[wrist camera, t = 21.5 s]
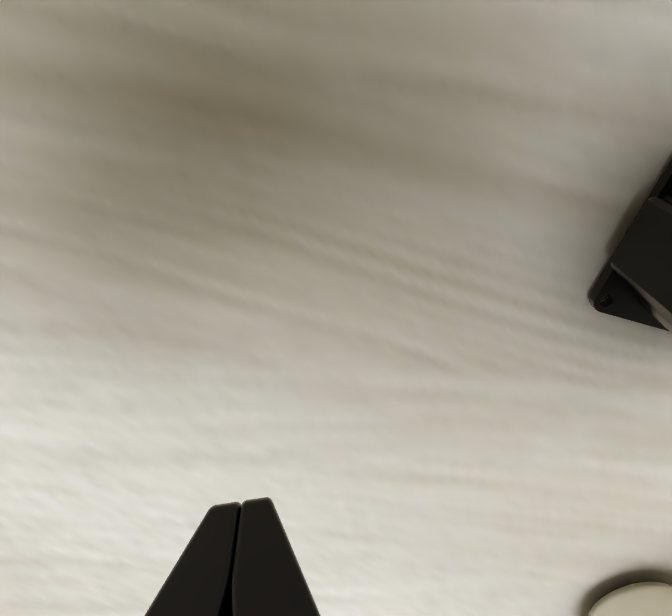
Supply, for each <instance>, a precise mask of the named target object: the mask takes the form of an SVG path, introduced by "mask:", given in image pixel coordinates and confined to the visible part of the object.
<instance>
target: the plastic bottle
mask: <svg viewBox="0 0 672 616" xmlns="http://www.w3.org/2000/svg"><path fill="white" fill-rule="evenodd" d="M588 616H672V586H671V585H668V584H666V583H661V582H640V583H634V584H630V585H627V586H624V587H621V588H619V589H616V590H614V591H612V592H610V593H608V594H607V595H605V596H604V597H602V598H601V599H600V600H598V601H597V602H596V603H595V604H594V605H593V607H592V608H591V610H590V611H589V614H588Z"/></svg>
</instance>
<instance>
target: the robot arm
mask: <svg viewBox="0 0 672 616" xmlns="http://www.w3.org/2000/svg"><path fill="white" fill-rule="evenodd" d="M606 295H608V297H607V298H606V299H605V300H604V301H601V299H602V298H603V297H604V296H606ZM600 301H601V302H600ZM589 302H590V304H591V305H592V306H593V307H594V308H595V309H596V310H597V311H599V312H602V313H606V314H609V315H613V316H617V317H620V318H624V319H628V320H631V321H635V322H638V323H642V324H646V325H649V326H653V327H657V328H660V329H664V330H667V331H670V332H671V333H672V159H671V161H670V162H669V164H668V166H667V167H666V169H665V171H664V172H663V174H662V176H661V177H660V179H659V181H658V182H657V184H656V186H655V187H654V189H653V191H652V192H651V194H650V195H649V197H648V199H647V200H646V202H645V203H644V205H643V207H642V208H641V210H640V212H639V213H638V215H637V216H636V218H635V220H634V221H633V223H632V225H631V226H630V228H629V230H628V231H627V233H626V235H625V236H624V238H623V240H622V241H621V243H620V245H619V246H618V248H617V250H616V251H615V253H614V255H613V256H612V258H611V260H610V262H609V263H608V265H607V267H606V268H605V270H604V271H603V273H602V275H601V276H600V278H599V280H598V281H597V283H596V285H595V286H594V288H593V290H592V291H591V293H590V296H589ZM145 616H320V614H319V611H318V609H317V607H316V604H315V602H314V599H313V597H312V595H311V592H310V590H309V588H308V585H307V583H306V580H305V578H304V576H303V573H302V571H301V568H300V566H299V564H298V561H297V559H296V557H295V554H294V552H293V549H292V547H291V545H290V542H289V540H288V537H287V535H286V533H285V530H284V528H283V525H282V523H281V521H280V518H279V516H278V514H277V511H276V509H275V506H274V504H273V502H272V500H271V499H270V498H268V497H265V498H258V499H252V500H246V501H244V502H243V503H242V505H241V504H240V503H239V502H232V503H226V504H219V505H215V506H213V507H211V508H210V509H209V510H208V512H207V514H206V515H205V517H204V519H203V520H202V522H201V524H200V525H199V527H198V528H197V530H196V532H195V533H194V535H193V537H192V538H191V540H190V542H189V543H188V545H187V547H186V548H185V550H184V552H183V553H182V555H181V556H180V558H179V560H178V561H177V563H176V565H175V566H174V568H173V570H172V571H171V573H170V575H169V576H168V578H167V580H166V581H165V583H164V584H163V586H162V588H161V589H160V591H159V593H158V594H157V596H156V598H155V599H154V601H153V603H152V604H151V606H150V608H149V609H148V611H147V613H146V614H145Z"/></svg>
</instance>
